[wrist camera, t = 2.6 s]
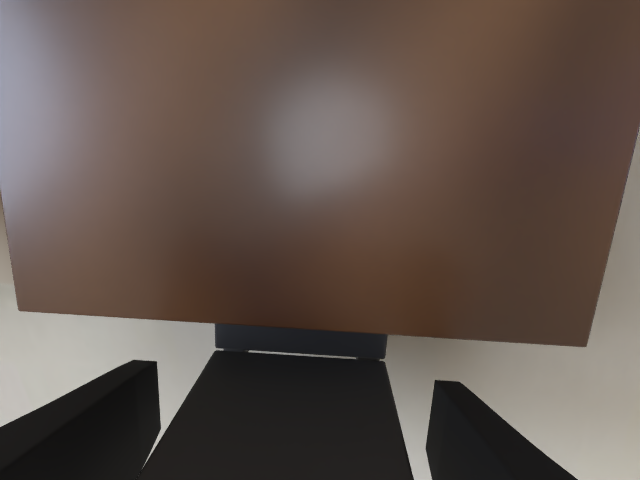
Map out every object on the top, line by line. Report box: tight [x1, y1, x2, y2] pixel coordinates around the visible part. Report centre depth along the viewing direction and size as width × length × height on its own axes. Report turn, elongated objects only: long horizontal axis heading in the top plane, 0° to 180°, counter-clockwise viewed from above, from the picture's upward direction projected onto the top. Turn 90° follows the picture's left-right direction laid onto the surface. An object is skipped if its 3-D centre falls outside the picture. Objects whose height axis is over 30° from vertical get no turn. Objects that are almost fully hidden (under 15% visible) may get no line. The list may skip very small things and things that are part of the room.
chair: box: [136, 324, 414, 480], centre depth 9 cm, size 5×6×8 cm
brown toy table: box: [0, 0, 640, 347], centre depth 10 cm, size 14×8×4 cm, turn 87°
